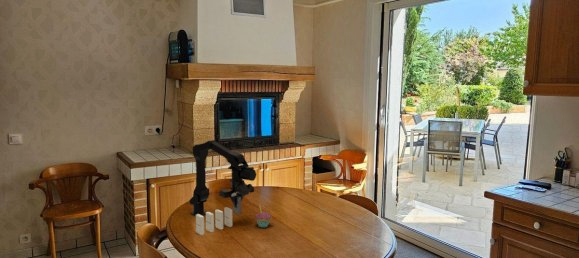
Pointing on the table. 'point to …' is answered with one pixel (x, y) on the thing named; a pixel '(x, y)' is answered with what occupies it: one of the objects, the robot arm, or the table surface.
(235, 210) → the grey domino block
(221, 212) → the domino
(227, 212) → the domino
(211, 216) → the domino
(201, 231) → the domino
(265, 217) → the cupcake
